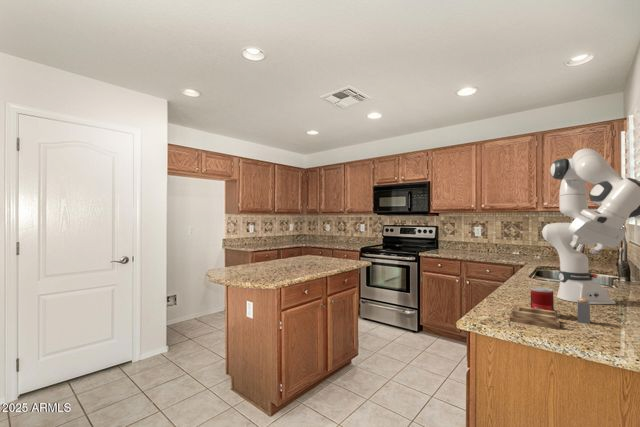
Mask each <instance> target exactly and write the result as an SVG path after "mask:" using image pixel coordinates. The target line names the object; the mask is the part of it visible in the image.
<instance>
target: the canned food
mask: <svg viewBox="0 0 640 427" xmlns="http://www.w3.org/2000/svg"><path fill="white" fill-rule="evenodd" d="M554 298H555V297H554V289H553V288H548V287H545V286H543V287H542V286H532V287H530V308H535V309H542V310H549V311H554V310H555V309H554V304H555V303H554V301H555V300H554Z"/></svg>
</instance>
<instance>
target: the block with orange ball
mask: <svg viewBox="0 0 640 427" xmlns="http://www.w3.org/2000/svg"><path fill="white" fill-rule="evenodd" d="M576 316H577V318H576V319H577V323H579V324H580V323H581V324H588V325H591V304H590V303H589V302H587V299H584V298H579V300H577V302H576Z"/></svg>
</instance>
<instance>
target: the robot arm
mask: <svg viewBox="0 0 640 427" xmlns="http://www.w3.org/2000/svg"><path fill="white" fill-rule="evenodd" d="M551 164H552V165H551V166H550V171H549V172H550V175H551V177H552V178H553V179H554V180H559V181H561V182H560V185H559V196H558V197H559V198H558V200H559V201H558V202H559V203H558V204H559V205H558V206H559V212H560V213H561V214H562V215H564V216H566V217H569V218H572V219H574V220H573V221H572V222H554V223H553V222H552V223H547V224H545V225H544V227H543V228H542V229H541V230H542V231H541V235H542V237H543V240H544V241H546V242H547V243H549V244H550V245H551V246H552V247H554V249H555V250H556V252H557V254H558V258H559V266H560V267H559V271H558V272H559V273H558V274H559V275H558V277H559V278H558V280H559V286H558V291H557V295H556V298H558V299H560V300H564V301H568V302H574V303H577V300H579V298H584V299H587V302H589V303H590V305H616V300H614V299H612V298H610V296H609V292H608V289H606V288H605V287H603V286H602V285H601V284H599V283H598V282H596V281H595V280H593V279H597V278H599V275H598V274H597V273H596V274H595V273H591V272H589V258H588V256H587V255H586V254H585V253H583V252H581V251H578V250H576V249H574V248H577V247H578V246H580V245H586V246H591V245H592V246H593V245H596V246H595V247H591V248H590V249H589V253H590V254H593V255H596V254H597V253H598V252H599V251H601V250H604V249H605V248H606V247H608V248H610V249H615V248H617V247H618V246H619V245H620V243H621V242H622V241H623V238H625V234H626V233H627V227H626V225H624V223H625V222H627V221H628V219H630V218H636V217H639V216H640V180H637V179H635V178H631V177H625V178H623V177H622V176H621V175H620V174H619V173H618V171H616V170H615V169H614V168H613V167H612V166H611V165H610V163H609V162H608V161H607V160H606V158H604V156H602V154H601V153H599V152H598V151H596V150H594V149H592V148H589V147H588V148H586V147H585V148H582V149H579V150H577V151H576V152H574V154H573V155H572V157H571V158H566V157H564V158H560V159H556V160H554V161H553V162H552V163H551ZM587 183H590V184H593V185H592V186H593V187H591V189H590V191H589V193H588V191H587ZM588 197H589V198H588ZM588 199H589V200H590V201H591V202H592V203H594V204H596V205H598V206H599V207H598V208H597V209H596V208H594V209H591V208H590V209H589V206H588ZM573 247H574V248H573Z"/></svg>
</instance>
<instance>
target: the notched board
mask: <svg viewBox="0 0 640 427" xmlns="http://www.w3.org/2000/svg"><path fill="white" fill-rule="evenodd" d="M509 322H514V323H520V324H525V325H533V326H537V327H541V328H542V327H544V328H549V329H554V330H560V329H561V326H560V318H559V316H558V317H557V316H556V311H549V310H542V309H535V308H531V307H526V306H520V305H513V308H512V310H511V312H510V314H509Z"/></svg>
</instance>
